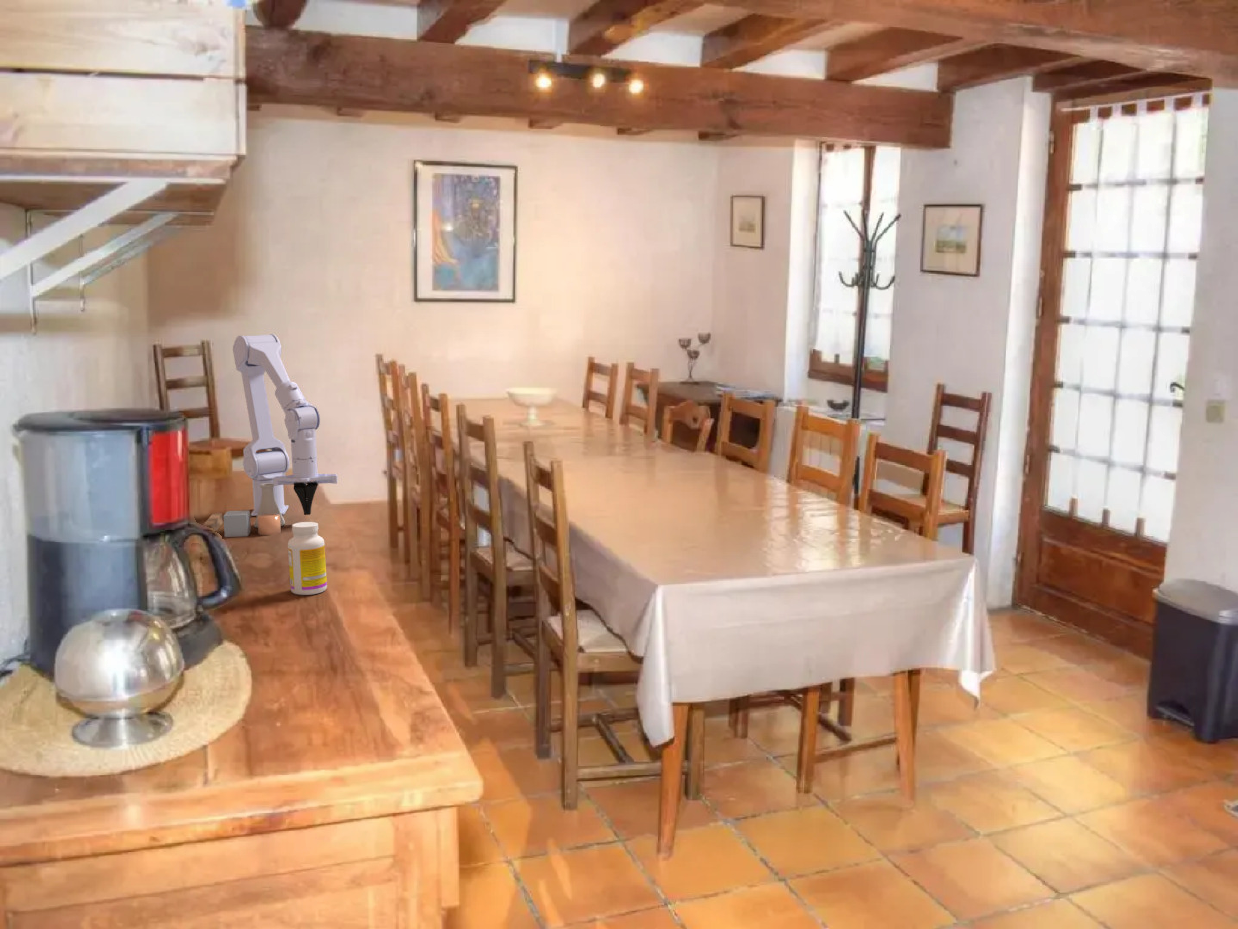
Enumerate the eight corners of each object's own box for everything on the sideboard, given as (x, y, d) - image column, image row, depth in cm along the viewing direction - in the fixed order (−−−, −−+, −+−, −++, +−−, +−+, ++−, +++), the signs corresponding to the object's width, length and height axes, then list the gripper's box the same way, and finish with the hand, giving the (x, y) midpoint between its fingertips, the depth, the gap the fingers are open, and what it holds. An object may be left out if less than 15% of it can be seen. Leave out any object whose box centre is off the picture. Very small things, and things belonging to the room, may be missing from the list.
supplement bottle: (334, 588, 213) (331, 522, 211) (311, 597, 207) (307, 529, 205) (306, 584, 216) (303, 519, 214) (282, 593, 210) (278, 526, 208)
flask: (290, 522, 270) (287, 481, 268) (278, 529, 263) (275, 487, 261) (261, 522, 271) (258, 481, 269) (248, 529, 263) (245, 487, 262)
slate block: (228, 532, 260) (227, 511, 260) (251, 531, 261) (249, 510, 260) (224, 537, 256) (223, 515, 255) (247, 536, 256) (246, 514, 256)
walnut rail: (214, 523, 269) (213, 513, 269) (222, 523, 270) (222, 512, 269) (202, 536, 256) (201, 526, 255) (211, 536, 256) (211, 525, 256)
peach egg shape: (260, 530, 262) (258, 514, 261) (282, 530, 262) (281, 513, 262) (256, 535, 257) (255, 518, 256) (279, 534, 257) (278, 517, 257)
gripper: (270, 461, 260) (273, 518, 263) (334, 459, 263) (337, 516, 265) (274, 456, 267) (277, 512, 269) (337, 454, 269) (339, 510, 272)
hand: (307, 514), depth 268 cm, fingers closed
